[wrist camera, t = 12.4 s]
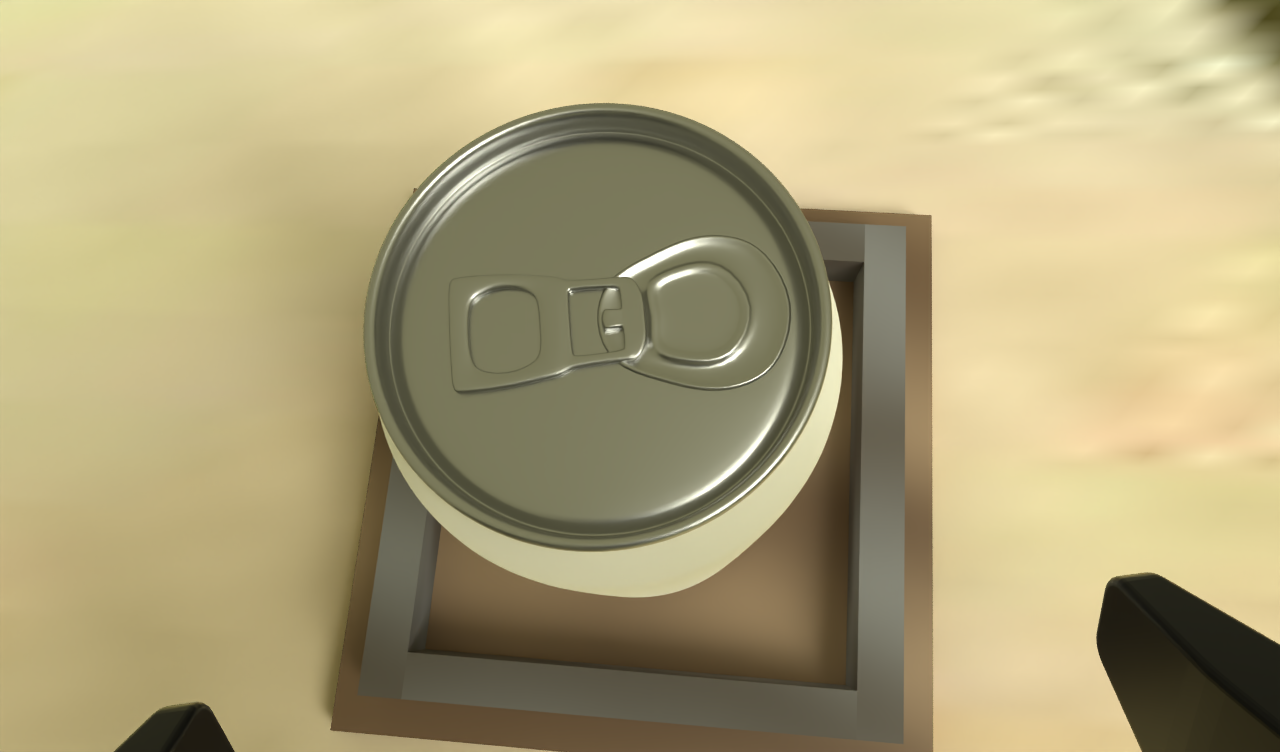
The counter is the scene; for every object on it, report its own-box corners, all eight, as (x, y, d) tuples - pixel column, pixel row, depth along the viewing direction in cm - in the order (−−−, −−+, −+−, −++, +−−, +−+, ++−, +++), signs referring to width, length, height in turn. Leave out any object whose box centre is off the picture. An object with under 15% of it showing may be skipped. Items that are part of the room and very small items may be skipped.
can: (786, 585, 21) (913, 563, 10) (519, 610, 21) (325, 618, 10) (753, 329, 23) (827, 45, 11) (505, 354, 23) (325, 99, 11)
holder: (926, 780, 21) (951, 798, 19) (339, 726, 21) (305, 738, 19) (925, 224, 24) (946, 191, 22) (420, 198, 25) (398, 163, 23)
